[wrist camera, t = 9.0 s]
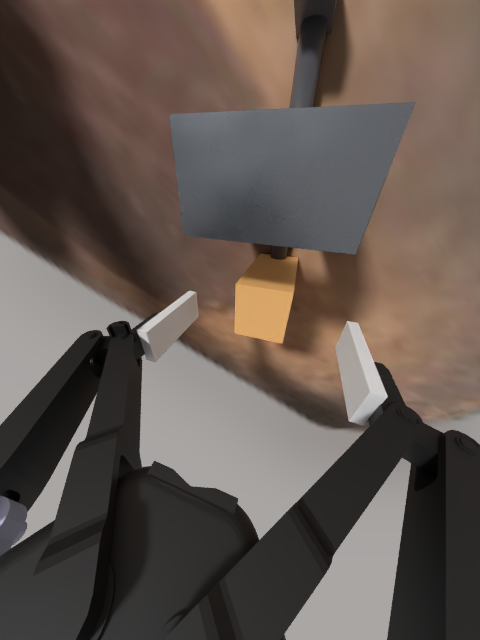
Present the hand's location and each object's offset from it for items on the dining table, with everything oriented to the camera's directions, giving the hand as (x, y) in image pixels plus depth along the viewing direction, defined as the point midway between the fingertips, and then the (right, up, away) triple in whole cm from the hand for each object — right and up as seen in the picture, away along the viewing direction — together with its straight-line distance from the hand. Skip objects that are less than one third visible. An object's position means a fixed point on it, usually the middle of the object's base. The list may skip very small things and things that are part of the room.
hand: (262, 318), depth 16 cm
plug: (+3, +12, +2) cm, 13 cm away
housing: (+3, +13, +2) cm, 13 cm away
